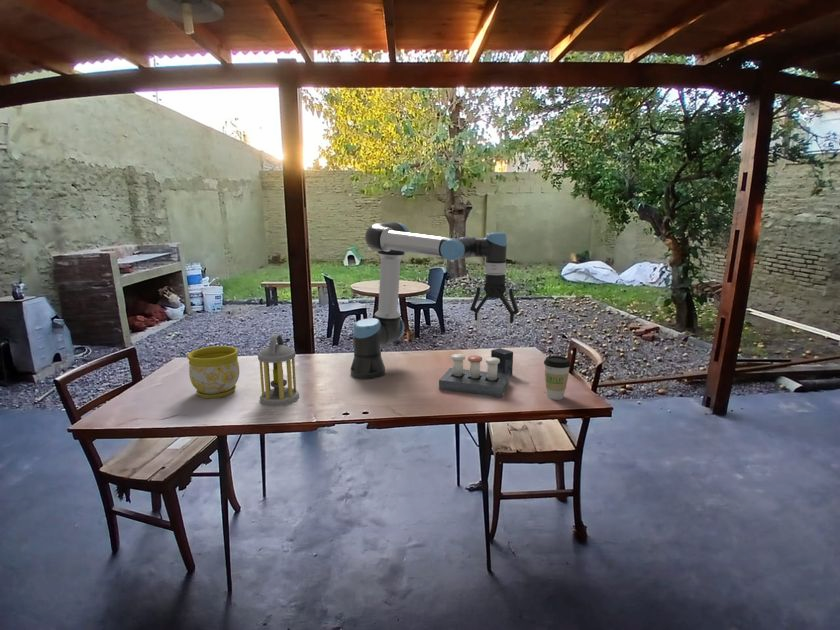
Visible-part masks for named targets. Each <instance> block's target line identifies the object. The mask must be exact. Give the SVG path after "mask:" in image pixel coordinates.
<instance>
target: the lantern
mask: <svg viewBox="0 0 840 630" xmlns="http://www.w3.org/2000/svg"><path fill="white" fill-rule="evenodd" d="M295 357H296V351H295V350H294V349H293V348H292V347H291V346H288V345H285V344H284V339H283V337H282V335H281V334H279V333H278V334H275V333H274V334H272V335H271V337H270V340H269V345H268V346H266V347H264V348H262V349H261V351H259V352H258V354H257V359H258V361H259V371H260V373H259V374H260V385H261V395H260V396H259V402H260V404H263V405H264V406H268V407H270V406H271V407H279V406H280V407H281V406H285V405H290V404H292V403H295V402H296V401H298V400H299V398H300V393H299V391H298V390H297V380H296V379H297V378H296V364H295V363H296V361H295ZM284 362H285V363H286V375H287V376H286V378H287V380H286V379H284V369H283V363H284ZM291 363H292V364H291ZM269 364H272V366H273V367H272V368H273V369H272V376H273V380H271V376H270V365H269ZM285 386H287V387H285ZM271 387H272V388H271Z"/></svg>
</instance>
